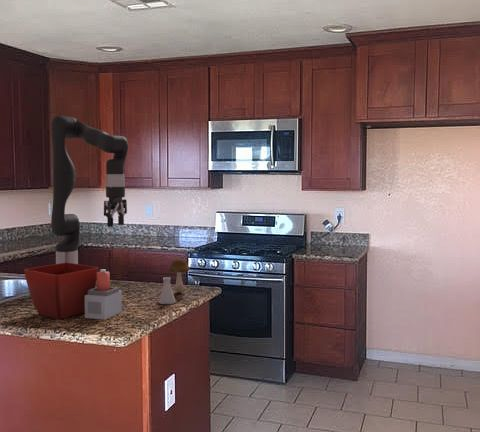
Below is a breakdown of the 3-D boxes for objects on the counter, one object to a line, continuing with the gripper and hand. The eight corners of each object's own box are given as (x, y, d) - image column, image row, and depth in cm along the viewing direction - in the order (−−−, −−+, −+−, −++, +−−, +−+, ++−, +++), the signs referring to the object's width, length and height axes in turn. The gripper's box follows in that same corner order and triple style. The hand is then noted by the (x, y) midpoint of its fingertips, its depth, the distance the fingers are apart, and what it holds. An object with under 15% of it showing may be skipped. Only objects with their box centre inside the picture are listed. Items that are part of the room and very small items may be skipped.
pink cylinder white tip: (94, 293, 206) (93, 270, 205) (100, 291, 210) (100, 268, 210) (105, 294, 204) (105, 271, 204) (112, 292, 209) (111, 269, 208)
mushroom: (188, 289, 253) (188, 256, 252) (191, 295, 242) (191, 260, 241) (167, 290, 251) (167, 256, 250) (169, 295, 240) (169, 260, 239)
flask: (155, 301, 230) (155, 277, 229) (173, 300, 232) (173, 276, 232) (159, 305, 223) (159, 280, 222) (178, 304, 226) (177, 279, 225)
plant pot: (57, 323, 196) (56, 274, 195) (23, 315, 207) (22, 268, 206) (100, 312, 212) (99, 267, 210) (67, 305, 223) (66, 262, 221)
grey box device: (84, 318, 203) (84, 291, 202) (102, 310, 215) (102, 285, 214) (104, 319, 201) (103, 293, 200) (121, 311, 213) (121, 286, 212)
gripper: (116, 185, 238) (116, 224, 239) (97, 185, 224) (98, 227, 225) (132, 185, 236) (132, 224, 237) (114, 186, 222) (115, 227, 223)
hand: (115, 225), depth 231 cm, fingers open, 8 cm apart
